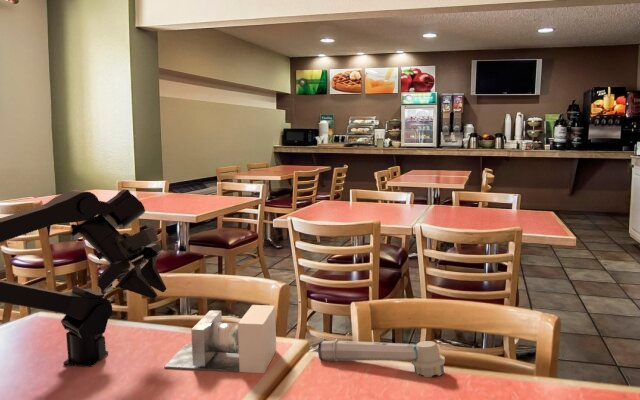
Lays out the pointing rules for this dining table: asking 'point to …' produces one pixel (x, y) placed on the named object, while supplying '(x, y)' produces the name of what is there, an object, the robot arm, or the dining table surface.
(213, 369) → the plate
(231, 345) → the grey piece
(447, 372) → the dining table surface
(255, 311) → the socket
